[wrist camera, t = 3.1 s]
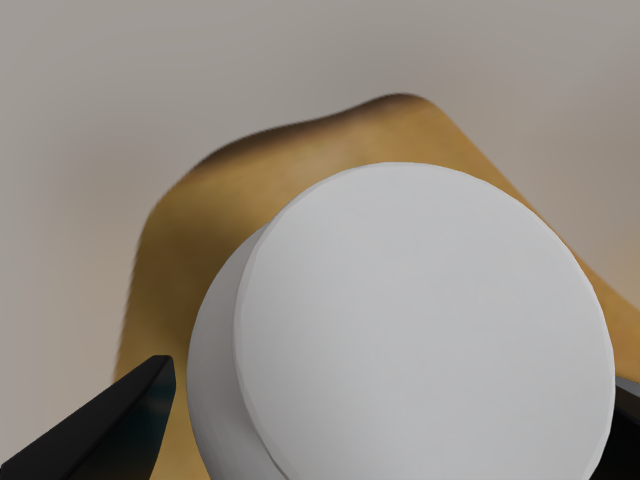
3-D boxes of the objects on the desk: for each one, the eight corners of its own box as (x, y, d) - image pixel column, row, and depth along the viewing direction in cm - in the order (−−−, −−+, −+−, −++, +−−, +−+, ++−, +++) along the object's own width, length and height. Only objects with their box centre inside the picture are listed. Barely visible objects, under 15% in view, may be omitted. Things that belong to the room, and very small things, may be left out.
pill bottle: (438, 445, 16) (920, 581, 4) (270, 509, 15) (141, 1050, 2) (376, 284, 19) (533, 54, 6) (231, 326, 17) (78, 139, 5)
